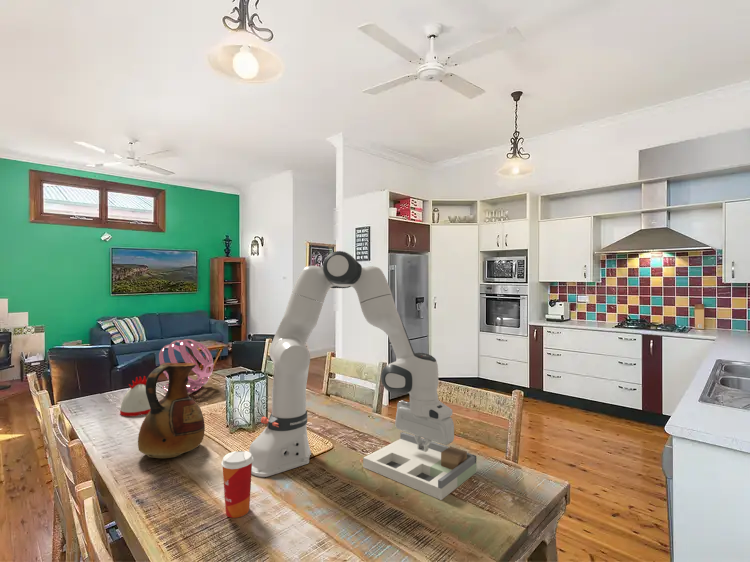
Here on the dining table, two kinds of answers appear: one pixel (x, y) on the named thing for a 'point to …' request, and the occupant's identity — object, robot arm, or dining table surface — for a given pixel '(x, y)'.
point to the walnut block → (452, 457)
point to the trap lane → (419, 466)
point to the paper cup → (237, 482)
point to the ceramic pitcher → (171, 415)
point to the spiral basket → (190, 359)
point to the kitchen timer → (135, 399)
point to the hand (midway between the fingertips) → (422, 450)
